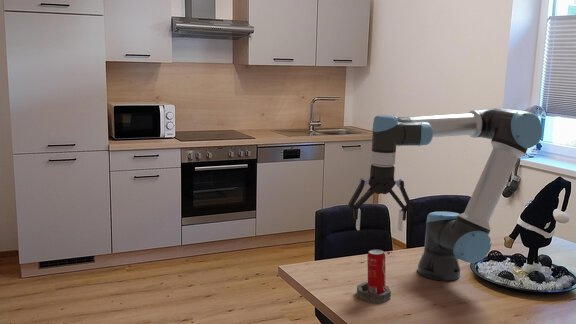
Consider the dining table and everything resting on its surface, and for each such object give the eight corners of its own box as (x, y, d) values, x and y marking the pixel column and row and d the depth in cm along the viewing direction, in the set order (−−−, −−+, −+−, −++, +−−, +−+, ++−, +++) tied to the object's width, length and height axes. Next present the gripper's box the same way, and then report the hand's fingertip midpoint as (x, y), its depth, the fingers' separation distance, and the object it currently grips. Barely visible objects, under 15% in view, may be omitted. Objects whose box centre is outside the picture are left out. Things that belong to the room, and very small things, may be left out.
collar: (385, 289, 189) (386, 282, 189) (392, 303, 179) (392, 295, 179) (355, 289, 189) (355, 282, 189) (359, 302, 179) (360, 294, 178)
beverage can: (385, 299, 180) (387, 255, 178) (364, 297, 182) (367, 253, 179) (385, 292, 186) (388, 249, 184) (365, 290, 187) (368, 247, 185)
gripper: (419, 163, 180) (414, 226, 184) (341, 161, 180) (338, 225, 184) (425, 167, 173) (420, 233, 177) (344, 165, 172) (341, 232, 176)
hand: (378, 229), depth 180 cm, fingers open, 13 cm apart
